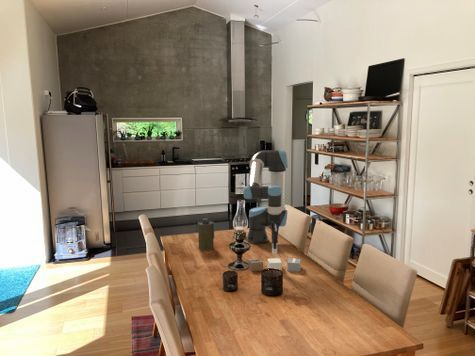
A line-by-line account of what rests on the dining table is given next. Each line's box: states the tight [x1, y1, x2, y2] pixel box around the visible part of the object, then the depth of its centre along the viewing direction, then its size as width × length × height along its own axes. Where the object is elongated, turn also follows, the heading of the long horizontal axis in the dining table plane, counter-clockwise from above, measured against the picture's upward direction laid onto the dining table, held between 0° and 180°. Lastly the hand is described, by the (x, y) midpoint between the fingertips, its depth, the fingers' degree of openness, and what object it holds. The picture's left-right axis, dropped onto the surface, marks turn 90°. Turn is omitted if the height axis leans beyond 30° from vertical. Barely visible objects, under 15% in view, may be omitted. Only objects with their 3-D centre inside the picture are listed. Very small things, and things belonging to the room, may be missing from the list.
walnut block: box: [247, 257, 264, 272], centre depth 219 cm, size 7×7×5 cm
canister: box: [197, 218, 215, 251], centre depth 255 cm, size 11×10×20 cm
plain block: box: [267, 257, 283, 272], centre depth 218 cm, size 7×7×5 cm
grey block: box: [286, 257, 301, 273], centre depth 217 cm, size 7×7×5 cm
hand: (274, 253), depth 217 cm, fingers closed
